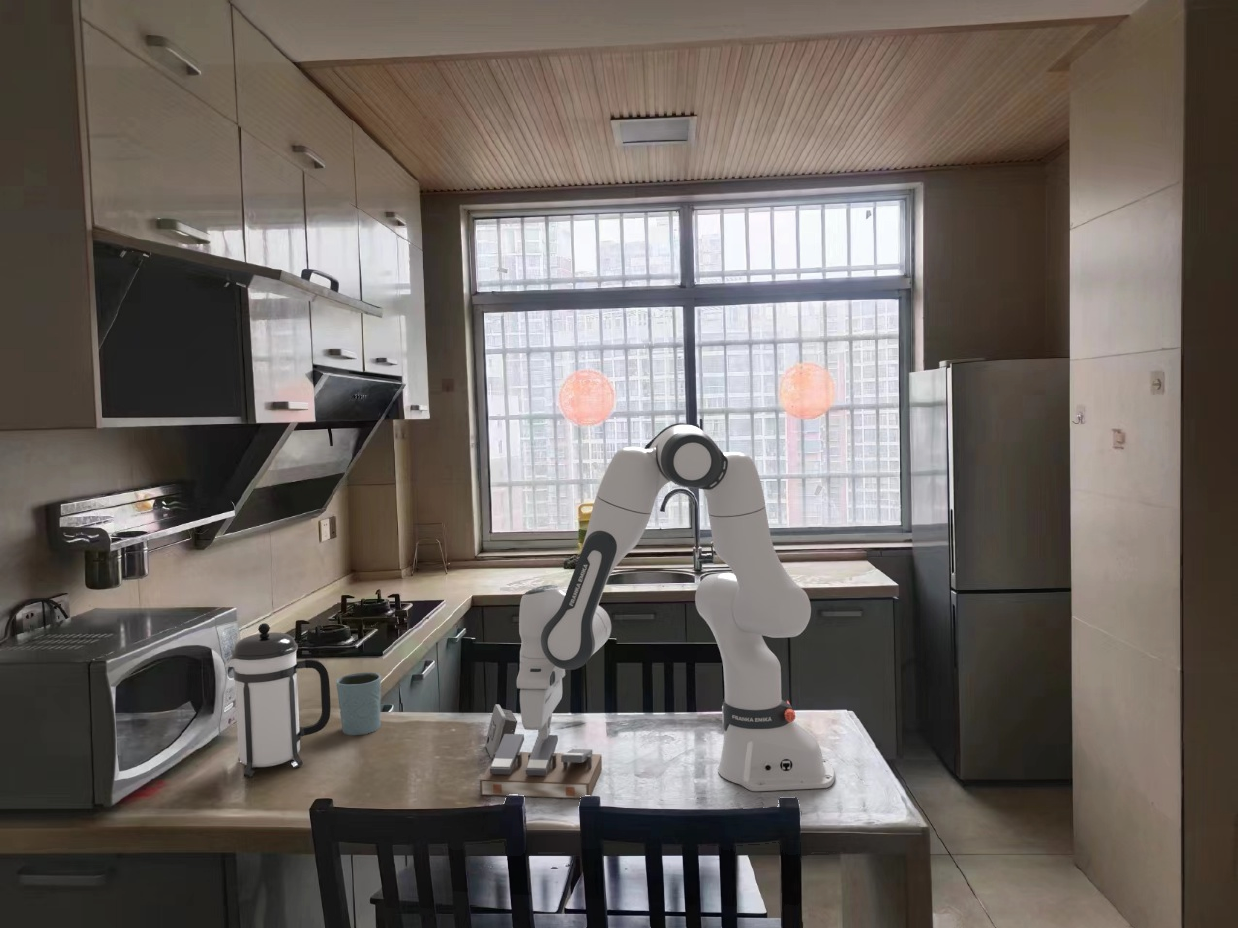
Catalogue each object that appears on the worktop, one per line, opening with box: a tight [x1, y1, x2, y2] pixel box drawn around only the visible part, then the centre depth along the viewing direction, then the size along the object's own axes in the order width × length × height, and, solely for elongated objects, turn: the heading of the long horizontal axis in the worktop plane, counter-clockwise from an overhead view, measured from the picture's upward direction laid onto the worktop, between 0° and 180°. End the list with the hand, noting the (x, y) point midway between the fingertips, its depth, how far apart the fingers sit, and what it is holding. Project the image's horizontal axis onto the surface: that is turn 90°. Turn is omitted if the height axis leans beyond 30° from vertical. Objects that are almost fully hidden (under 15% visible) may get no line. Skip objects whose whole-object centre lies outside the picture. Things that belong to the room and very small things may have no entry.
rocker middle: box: [525, 734, 559, 776], centre depth 168 cm, size 4×11×1 cm, turn 172°
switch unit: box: [479, 751, 603, 800], centre depth 168 cm, size 21×14×5 cm
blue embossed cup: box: [335, 672, 382, 736], centre depth 201 cm, size 10×10×12 cm
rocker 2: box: [561, 748, 593, 763], centre depth 167 cm, size 4×11×1 cm, turn 172°
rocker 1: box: [489, 733, 525, 774], centre depth 169 cm, size 4×11×1 cm, turn 172°
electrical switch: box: [484, 704, 518, 760], centre depth 185 cm, size 9×5×9 cm, turn 17°
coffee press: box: [224, 623, 332, 779], centre depth 181 cm, size 17×16×30 cm
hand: (544, 736), depth 171 cm, fingers closed
